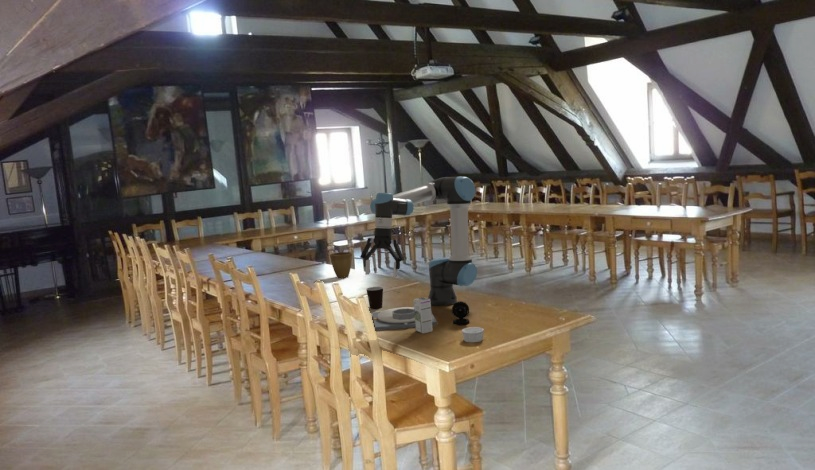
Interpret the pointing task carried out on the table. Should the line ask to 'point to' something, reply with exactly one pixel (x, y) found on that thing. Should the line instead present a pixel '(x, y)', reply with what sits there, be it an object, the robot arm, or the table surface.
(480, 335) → the ramekin
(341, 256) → the plant pot
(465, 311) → the webcam
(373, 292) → the black cup
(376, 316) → the base
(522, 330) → the table surface
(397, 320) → the grey round plate
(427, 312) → the syrup box
